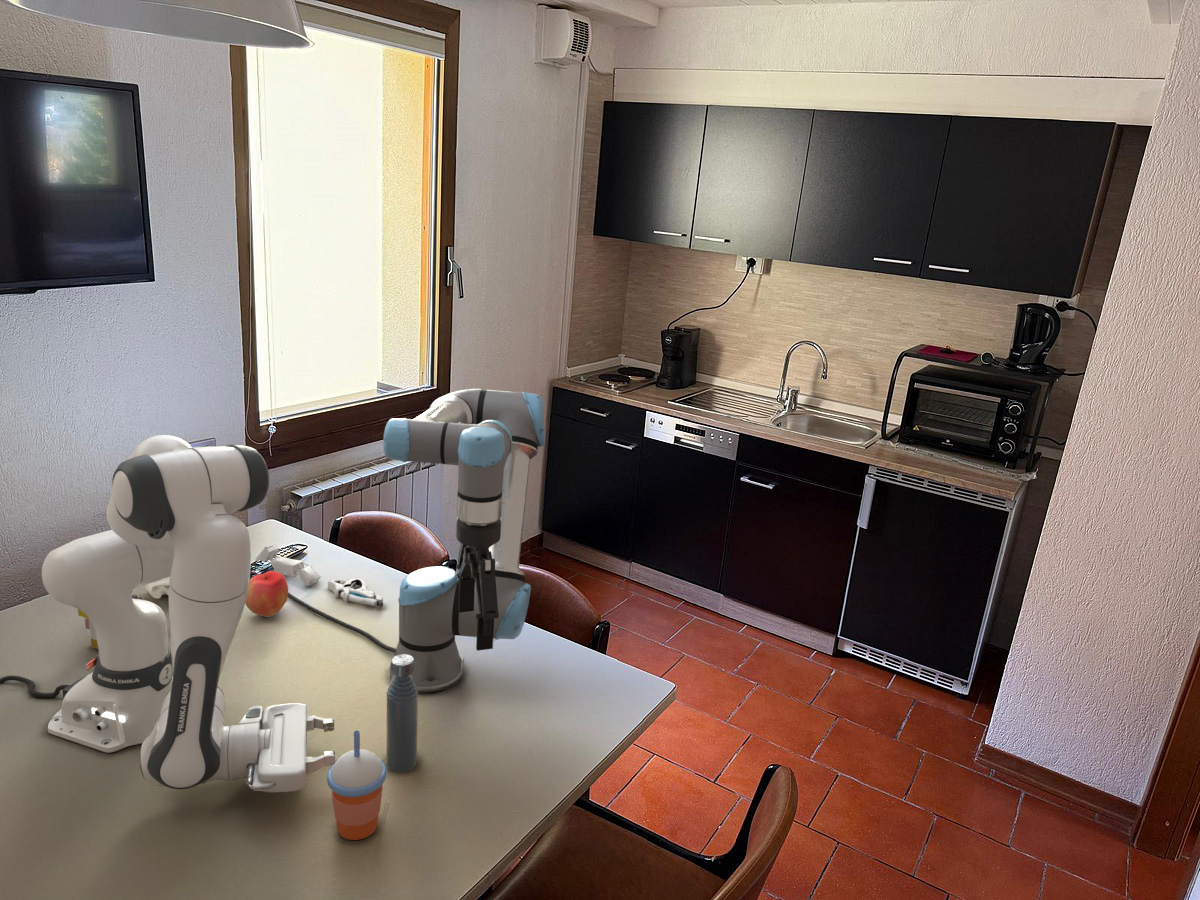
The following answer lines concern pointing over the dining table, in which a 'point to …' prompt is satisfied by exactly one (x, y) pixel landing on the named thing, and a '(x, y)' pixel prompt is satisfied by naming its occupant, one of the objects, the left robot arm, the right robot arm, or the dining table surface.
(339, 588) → the toy gun
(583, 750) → the dining table surface
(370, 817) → the cup with straw
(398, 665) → the cap
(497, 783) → the dining table surface
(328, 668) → the dining table surface
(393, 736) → the bottle
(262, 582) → the apple
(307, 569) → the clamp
